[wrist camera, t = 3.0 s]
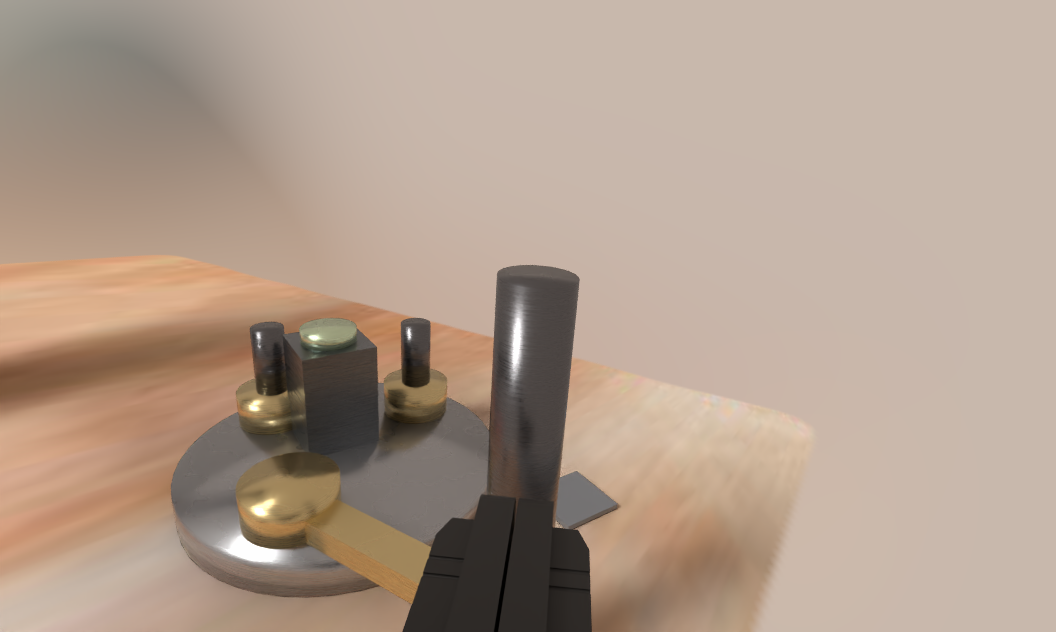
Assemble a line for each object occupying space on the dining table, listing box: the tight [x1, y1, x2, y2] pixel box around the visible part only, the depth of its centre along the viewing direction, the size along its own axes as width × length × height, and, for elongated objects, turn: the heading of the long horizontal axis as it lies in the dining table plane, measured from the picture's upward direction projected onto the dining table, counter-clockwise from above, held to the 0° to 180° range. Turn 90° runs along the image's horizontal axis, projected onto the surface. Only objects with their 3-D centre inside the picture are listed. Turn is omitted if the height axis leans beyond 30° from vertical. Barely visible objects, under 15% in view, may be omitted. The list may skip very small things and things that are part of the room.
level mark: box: [556, 471, 618, 529], centre depth 32 cm, size 4×4×1 cm
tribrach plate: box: [171, 318, 489, 597], centre depth 31 cm, size 17×17×9 cm
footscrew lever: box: [236, 265, 579, 604], centre depth 22 cm, size 15×4×14 cm, turn 60°
